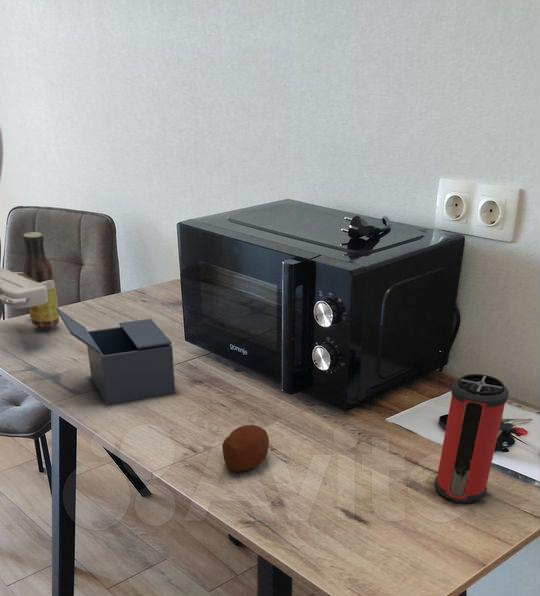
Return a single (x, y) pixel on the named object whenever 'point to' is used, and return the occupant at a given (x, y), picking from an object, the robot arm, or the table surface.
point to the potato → (245, 447)
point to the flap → (78, 330)
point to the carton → (132, 362)
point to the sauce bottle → (40, 280)
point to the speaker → (470, 437)
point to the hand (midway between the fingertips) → (43, 279)
